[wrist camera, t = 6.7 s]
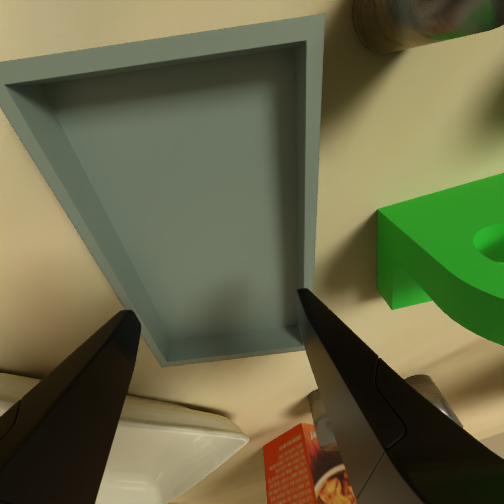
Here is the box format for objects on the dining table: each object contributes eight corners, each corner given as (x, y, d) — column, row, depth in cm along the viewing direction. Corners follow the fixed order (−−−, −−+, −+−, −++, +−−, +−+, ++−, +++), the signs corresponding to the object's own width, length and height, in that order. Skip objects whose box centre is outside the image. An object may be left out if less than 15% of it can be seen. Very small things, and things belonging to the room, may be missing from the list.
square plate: (252, 398, 24) (254, 445, 21) (168, 475, 37) (161, 511, 34) (-106, 325, 16) (-193, 385, 13) (-53, 458, 29) (-89, 504, 26)
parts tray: (307, 28, 8) (325, 13, 7) (303, 324, 17) (310, 349, 16) (25, 69, 8) (-26, 66, 7) (168, 340, 18) (161, 367, 16)
